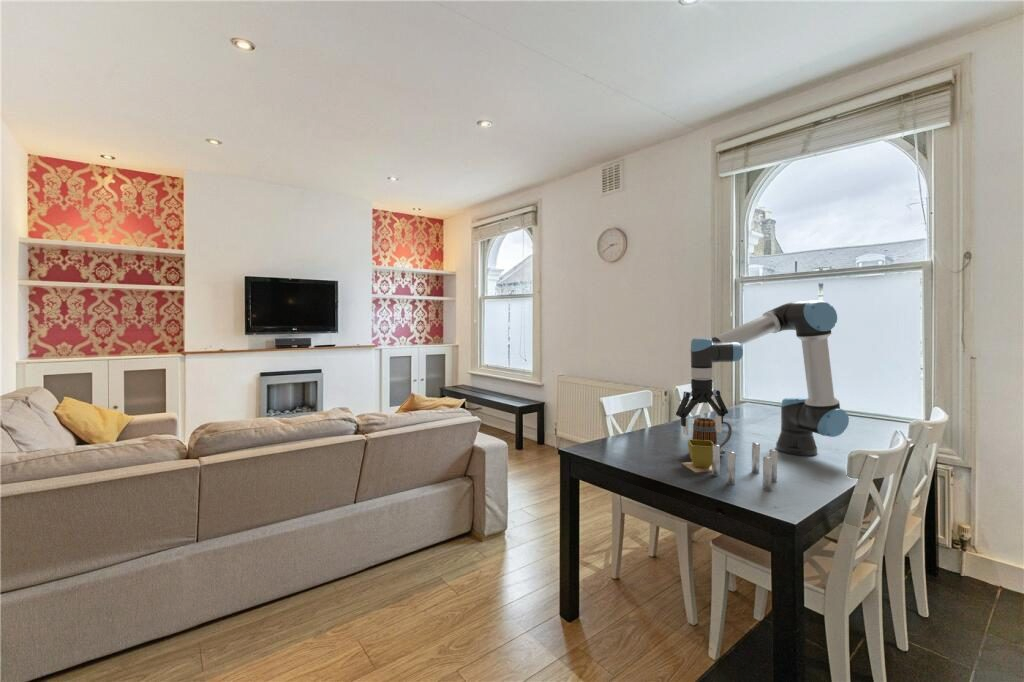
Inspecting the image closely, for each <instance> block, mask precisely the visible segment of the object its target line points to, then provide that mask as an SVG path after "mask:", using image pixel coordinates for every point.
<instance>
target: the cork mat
mask: <svg viewBox="0 0 1024 682" xmlns="http://www.w3.org/2000/svg"><path fill="white" fill-rule="evenodd" d="M681 465H683V466H684V467H686V468H688V469H689V470H691V471H692V472H693V473H711V472H712V465H711V466H710V467H709V468H705V467H695V465H694V464H693V462H692V461H690V462H689V461H687V462H681Z"/></svg>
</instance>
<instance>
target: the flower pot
mask: <svg viewBox="0 0 1024 682" xmlns="http://www.w3.org/2000/svg"><path fill="white" fill-rule="evenodd" d="M687 445H688V454H689V458H690V460H691V462H693V464H694V465H695V467H705V468H709V467H710V466H711V465H712V452H713V442H712V441H709V440H692V439H688V440H687Z"/></svg>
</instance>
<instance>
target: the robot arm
mask: <svg viewBox="0 0 1024 682" xmlns="http://www.w3.org/2000/svg"><path fill="white" fill-rule="evenodd" d="M837 323H838V314H837V310H836V309H835V307H834V306H833V305H832V304H831V303H829V302H827V301H823V300H816V299H815V300H806V301H805V300H804V301H792V302H791V301H790V302H787V303H784V304H781V305H780V306H777V307H775V308H772V309H769V310H767V311H765V312H764V313H763V314H762V316H760V317H758V318H755V319H754V320H751V321H749V322H748V321H747V322H746V323H743V324H742V325H738V326H736V327H735V328H732V329H730V330H727V331H725V332H722V333H721V334H717V335H716V336H713V337H711V338H709V337H697V338H692V339H691V341H690V366H691V367H690V369H691V370H690V377H691V380H690V381H691V382H690V383H691V385H690V386H691V392H689V391H683V395H682V399H681V401H680V404H679V406H678V407H677V410H676V413H675V415H676V416H677V417H679V418H680V425H681V427H682V434H683V435H685V436H689V418H688V416H689V415H690V413H691V412H692V411H693V410H694V408H695V407H696V406H697V405H698V404H703V403H704V404H707V403H708V405H709V406H710V407H711V408H712V410H714V412H715V413H716V414H715V417H714V418H715V421H716V433H719V434H721V433H722V430H723V429H722V425H724V424H723V421H724V417H725V416H726V415H727V414H728V413H729V411H728V408H727V405H725V402H724V401H723V398H722V396H721V391H720V390H719V389H713V379H712V378H713V363H729V362H730V363H733V362H739V361H741V359H742V357H743V356H744V349H743V345H745V344H747V343H749V342H752V341H754V340H757V339H760V338H761V337H763V336H766V335H768V334H777V333H780V332H782V331H795V334H796V337H797V338H798V339H800V340H801V348H802V355H803V357H802V358H803V362H804V364H803V365H804V370H805V371H804V372H805V379H806V380H805V381H806V387H807V397H787V398H783V399H782V401H781V406H780V408H781V411H780V413H781V414H780V416H781V417H780V423H781V424H780V433H779V435H778V438H777V441H776V443H775V450H777V451H778V452H782V453H786V454H788V455H789V454H790V455H795V456H805V457H806V456H815V455H817V454H818V447H817V445H816V441H815V437H814V434H819V435H821V436H824V437H829V438H834V437H839V436H840V435H842V434H843V433H844V432H845V431H846V429H848V427H849V423H850V418H849V417H850V416H849V415H848V412H846V411H845V410H844V409H843V408H841V405H840V400H839V399H837V398H836V397H835V393H834V387H833V386H834V385H833V377H832V369H831V359H830V350H829V349H830V348H829V341H828V338H829V337H830V336H831V335H832V329H833V328H835V326H836V324H837ZM712 396H713V397H714V399H715V401H716V402H715V401H714V399H713V398H712Z"/></svg>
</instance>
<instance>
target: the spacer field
mask: <svg viewBox="0 0 1024 682" xmlns="http://www.w3.org/2000/svg"><path fill="white" fill-rule="evenodd" d="M760 443H761V442H755V441H753V442H752V443H751V473H752V474H755V475H758V474H760V462H761V461H760V460H761V459H760V455H761V453H760V450H761V444H760ZM720 451H721V449H720V445H719V444H718V443H717V444H713V452H712V473H711V475H712V476H714V477H715V476H716V477H720V475H721V474H720V473H721V472H720V471H721V469H720V467H721V466H720V465H721V463H720V461H721V454H720ZM736 457H737V455H736V451H731V450H729V451H727V463H726V464H727V465H726V467H727V469H726V471H727V472H726V484H728V485H731V486H734V485H736ZM762 461H763V462H762V490H763V491H764V492H768V493H769V492H772V483H777V481H778V480H777V479H778V476H777V475H778V450H777V449H776V448H775V449H773V448H770V449H769V451H768V456H763V460H762Z"/></svg>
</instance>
